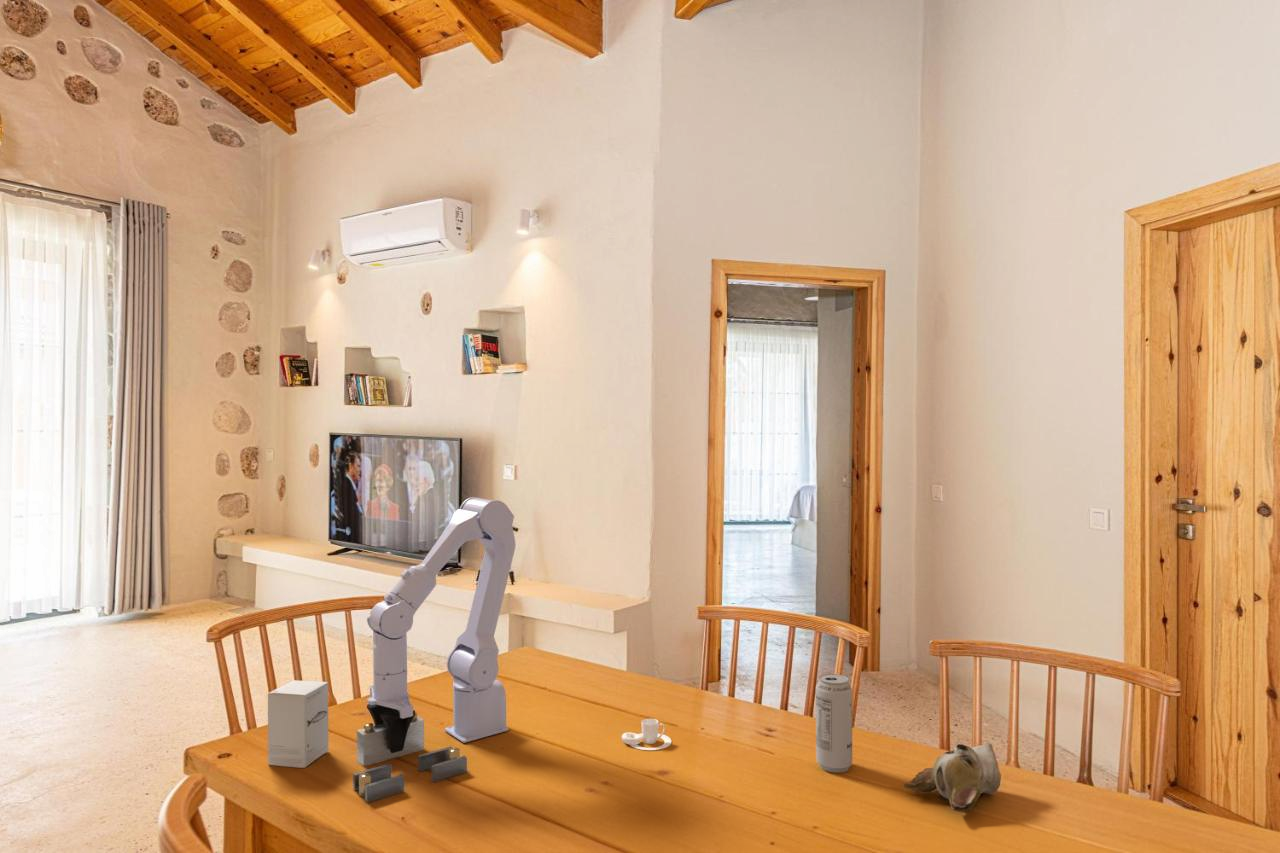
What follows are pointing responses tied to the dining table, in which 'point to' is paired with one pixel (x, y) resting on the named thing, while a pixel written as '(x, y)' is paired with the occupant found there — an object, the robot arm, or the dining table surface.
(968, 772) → the ceramic sculpture
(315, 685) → the supplement box
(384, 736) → the block with brass knobs
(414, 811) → the dining table surface
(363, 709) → the dining table surface
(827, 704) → the energy drink can
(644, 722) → the teacup and saucer
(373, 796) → the end link
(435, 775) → the end link
